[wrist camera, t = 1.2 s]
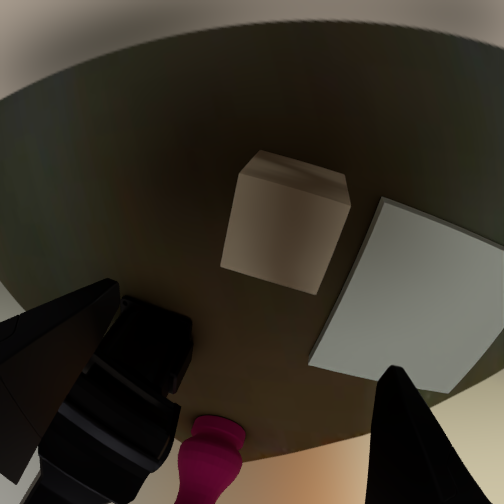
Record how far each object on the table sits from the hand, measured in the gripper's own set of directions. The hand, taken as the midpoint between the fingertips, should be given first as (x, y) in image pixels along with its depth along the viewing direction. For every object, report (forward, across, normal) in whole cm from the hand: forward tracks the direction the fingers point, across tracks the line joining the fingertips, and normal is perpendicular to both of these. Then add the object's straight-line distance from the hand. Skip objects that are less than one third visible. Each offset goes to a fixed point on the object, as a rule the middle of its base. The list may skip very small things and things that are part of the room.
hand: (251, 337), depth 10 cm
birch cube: (+11, 0, 0) cm, 11 cm away
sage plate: (+11, -12, +5) cm, 17 cm away
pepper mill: (+12, 0, +29) cm, 31 cm away
